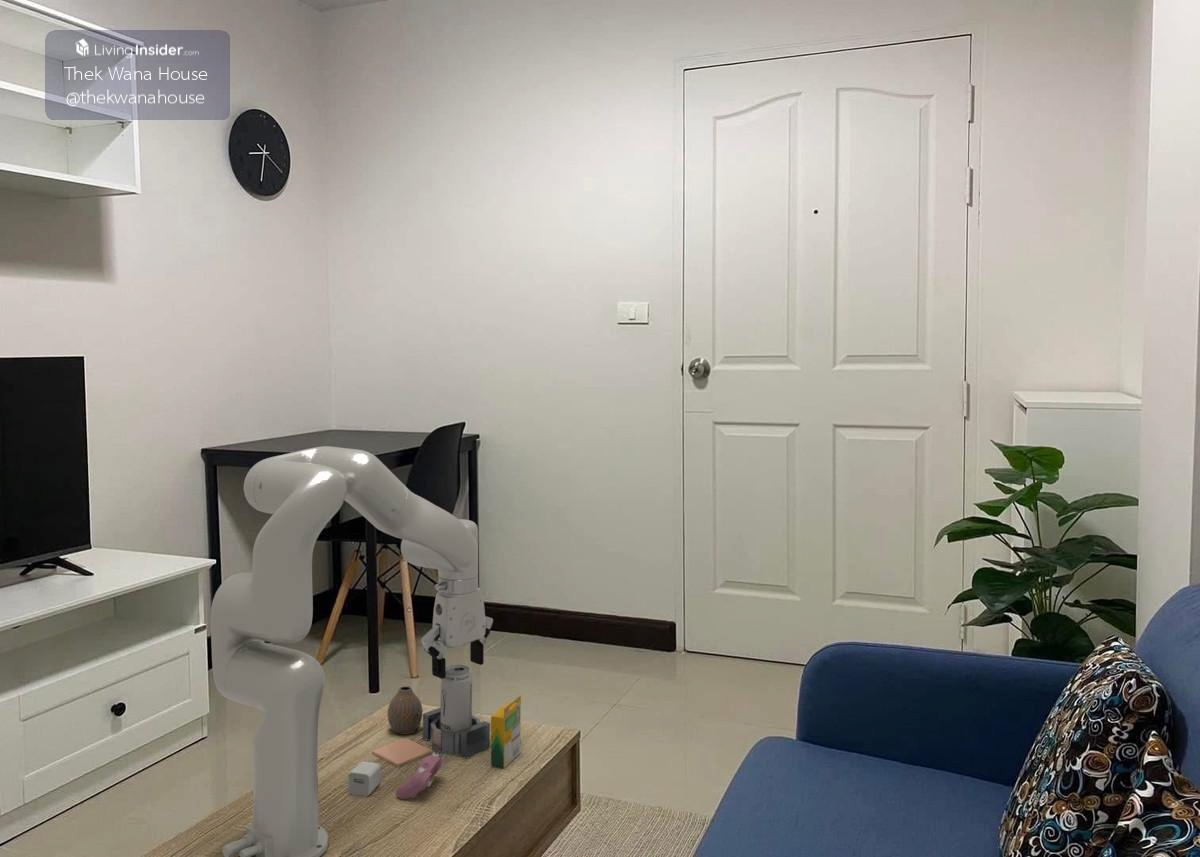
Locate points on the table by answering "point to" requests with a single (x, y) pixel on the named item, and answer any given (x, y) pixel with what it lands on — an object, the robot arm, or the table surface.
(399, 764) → the coaster
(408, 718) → the vase
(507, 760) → the crayon box
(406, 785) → the video game controller
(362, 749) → the table surface
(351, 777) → the usb wall charger
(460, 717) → the energy drink can
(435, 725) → the ring holder
